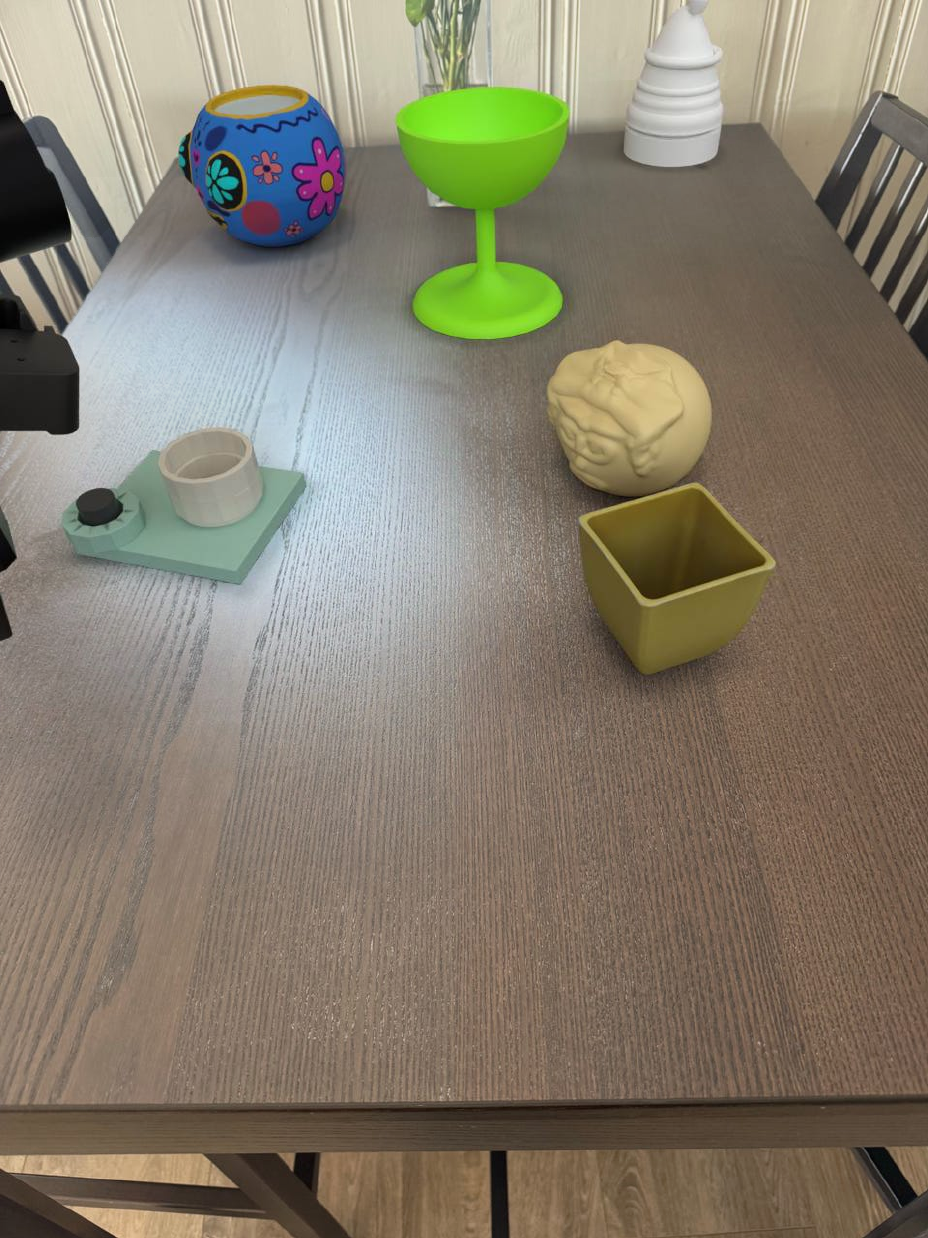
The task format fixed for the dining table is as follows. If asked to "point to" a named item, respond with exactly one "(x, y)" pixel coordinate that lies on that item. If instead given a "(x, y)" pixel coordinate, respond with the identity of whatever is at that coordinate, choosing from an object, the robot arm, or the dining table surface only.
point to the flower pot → (672, 575)
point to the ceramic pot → (266, 164)
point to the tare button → (98, 507)
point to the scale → (183, 527)
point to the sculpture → (629, 416)
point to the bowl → (211, 476)
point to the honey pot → (677, 95)
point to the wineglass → (484, 200)
